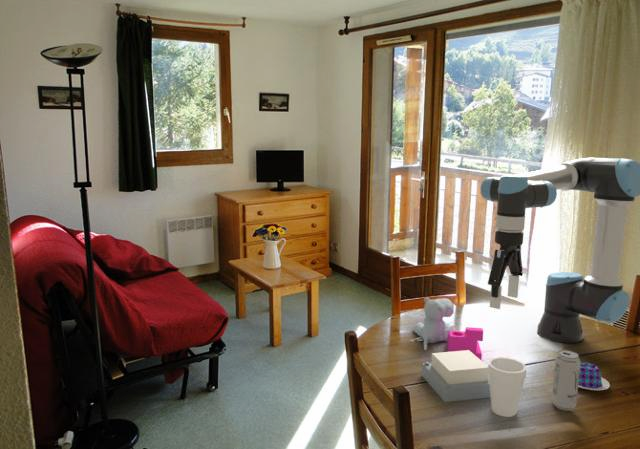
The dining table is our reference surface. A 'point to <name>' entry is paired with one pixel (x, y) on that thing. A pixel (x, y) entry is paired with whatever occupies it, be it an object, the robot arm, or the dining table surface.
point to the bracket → (466, 340)
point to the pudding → (591, 378)
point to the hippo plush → (434, 321)
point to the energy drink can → (566, 380)
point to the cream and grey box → (457, 376)
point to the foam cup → (506, 385)
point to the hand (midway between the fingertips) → (503, 302)
